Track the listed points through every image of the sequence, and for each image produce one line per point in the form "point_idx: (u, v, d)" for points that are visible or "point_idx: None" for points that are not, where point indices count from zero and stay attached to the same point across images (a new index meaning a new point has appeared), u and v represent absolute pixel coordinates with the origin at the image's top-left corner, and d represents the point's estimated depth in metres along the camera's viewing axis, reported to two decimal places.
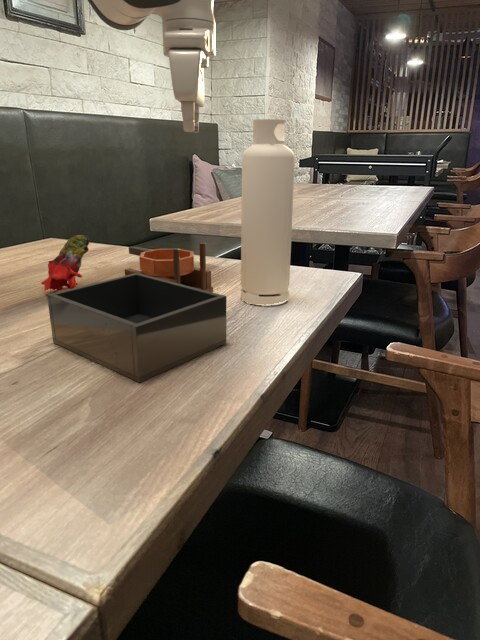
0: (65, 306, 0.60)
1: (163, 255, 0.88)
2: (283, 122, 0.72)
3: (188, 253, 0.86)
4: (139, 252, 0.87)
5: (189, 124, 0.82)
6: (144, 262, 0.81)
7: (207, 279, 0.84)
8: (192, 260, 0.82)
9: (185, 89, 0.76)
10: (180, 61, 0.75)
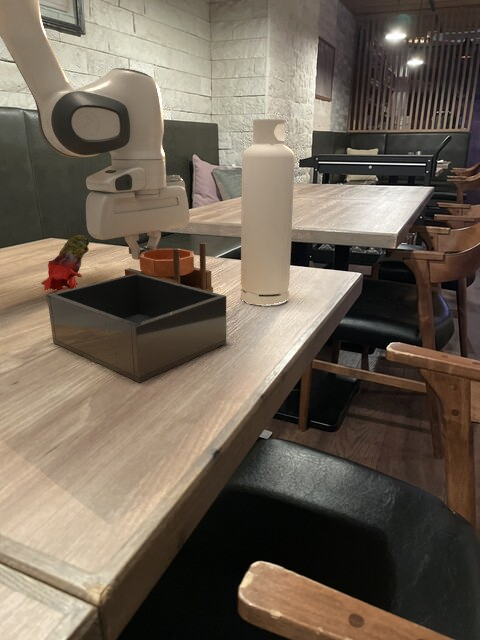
0: (65, 306, 0.60)
1: (163, 255, 0.88)
2: (283, 122, 0.72)
3: (188, 253, 0.86)
4: None
5: (135, 253, 0.86)
6: (144, 262, 0.81)
7: (207, 279, 0.84)
8: (192, 260, 0.82)
9: (93, 230, 0.78)
10: (91, 205, 0.78)
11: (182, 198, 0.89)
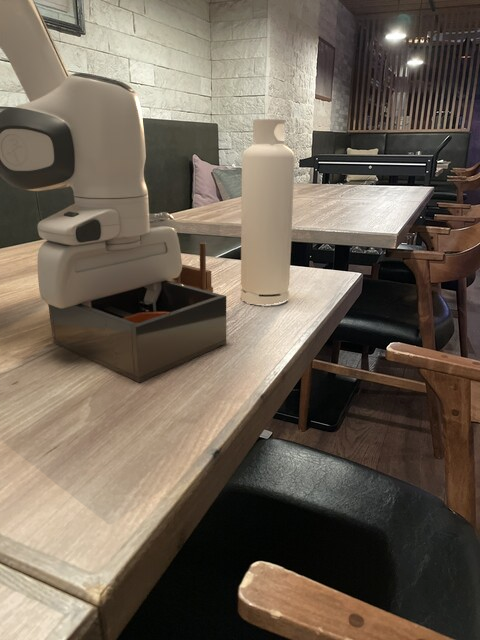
0: None
1: None
2: (283, 122, 0.72)
3: None
4: None
5: None
6: None
7: (207, 279, 0.84)
8: None
9: (47, 296, 0.57)
10: (43, 261, 0.56)
11: (172, 243, 0.68)
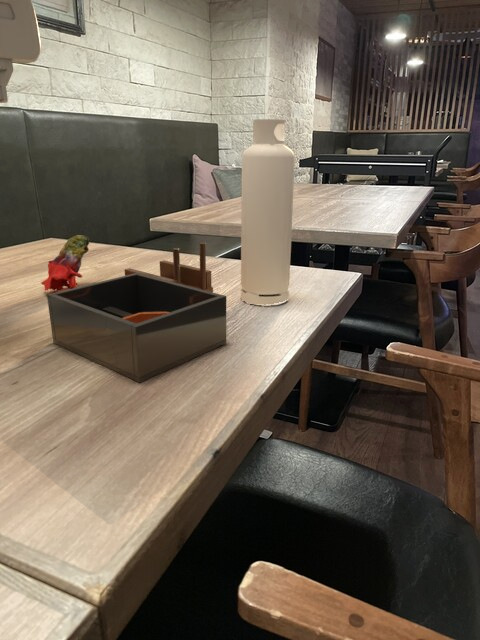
0: (65, 306, 0.60)
1: None
2: (283, 122, 0.72)
3: None
4: None
5: None
6: None
7: (207, 279, 0.84)
8: None
9: None
10: None
11: None
